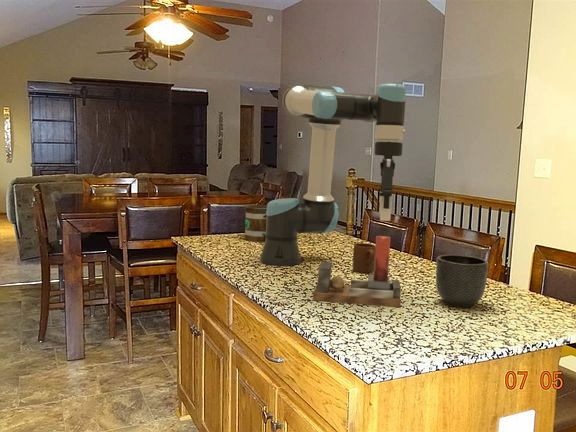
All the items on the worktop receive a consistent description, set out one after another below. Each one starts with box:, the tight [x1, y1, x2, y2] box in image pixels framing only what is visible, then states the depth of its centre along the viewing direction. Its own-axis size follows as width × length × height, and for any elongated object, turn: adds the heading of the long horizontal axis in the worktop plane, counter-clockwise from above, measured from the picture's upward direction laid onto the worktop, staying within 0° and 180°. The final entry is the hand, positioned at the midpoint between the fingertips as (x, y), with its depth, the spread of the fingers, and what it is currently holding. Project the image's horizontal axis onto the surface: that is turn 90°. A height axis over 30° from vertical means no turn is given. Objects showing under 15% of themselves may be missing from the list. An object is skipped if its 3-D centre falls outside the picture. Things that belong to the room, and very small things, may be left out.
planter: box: [435, 254, 489, 309], centre depth 152 cm, size 14×14×13 cm
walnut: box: [330, 275, 345, 289], centre depth 156 cm, size 4×4×4 cm
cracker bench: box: [312, 261, 402, 308], centre depth 155 cm, size 24×12×9 cm, turn 81°
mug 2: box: [352, 242, 376, 275], centre depth 187 cm, size 12×8×9 cm, turn 13°
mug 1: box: [244, 204, 267, 243], centre depth 242 cm, size 20×14×15 cm
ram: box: [367, 235, 391, 291], centre depth 153 cm, size 6×8×16 cm
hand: (384, 217), depth 151 cm, fingers open, 13 cm apart
